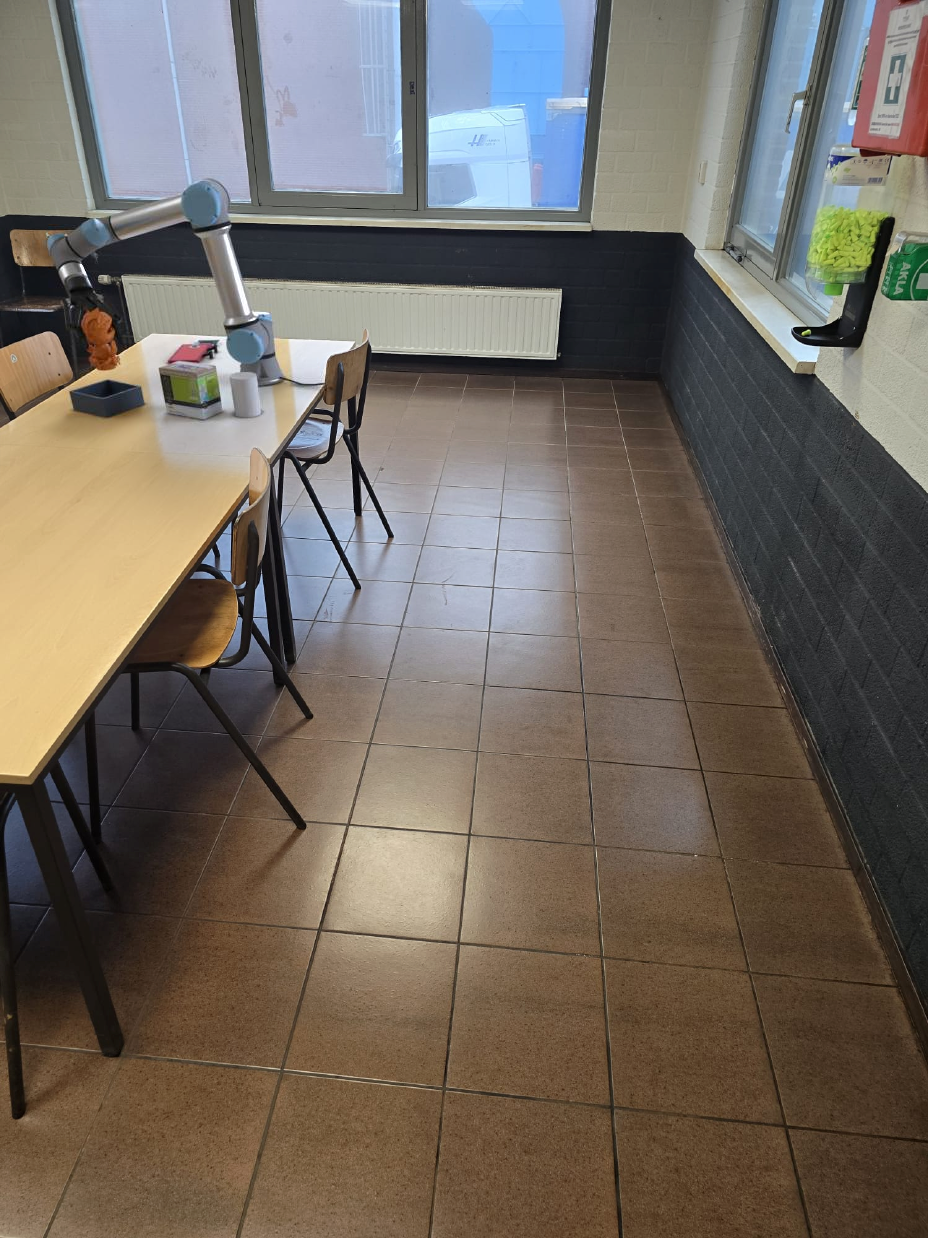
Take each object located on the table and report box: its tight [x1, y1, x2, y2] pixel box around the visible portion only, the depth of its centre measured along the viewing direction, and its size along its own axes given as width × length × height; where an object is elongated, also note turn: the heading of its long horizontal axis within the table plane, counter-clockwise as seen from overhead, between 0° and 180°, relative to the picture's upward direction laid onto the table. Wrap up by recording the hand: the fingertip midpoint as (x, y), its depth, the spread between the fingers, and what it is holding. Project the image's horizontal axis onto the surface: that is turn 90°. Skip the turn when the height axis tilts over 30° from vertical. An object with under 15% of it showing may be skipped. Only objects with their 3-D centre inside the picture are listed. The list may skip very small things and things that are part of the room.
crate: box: [68, 378, 146, 419], centre depth 269 cm, size 15×15×6 cm
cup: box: [229, 371, 262, 418], centre depth 264 cm, size 8×8×12 cm
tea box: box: [158, 361, 223, 420], centre depth 263 cm, size 15×10×15 cm
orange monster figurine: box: [80, 307, 121, 372], centre depth 261 cm, size 11×11×18 cm
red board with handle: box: [167, 339, 220, 364], centre depth 326 cm, size 30×3×15 cm
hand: (104, 344), depth 259 cm, fingers closed on orange monster figurine, 9 cm apart
